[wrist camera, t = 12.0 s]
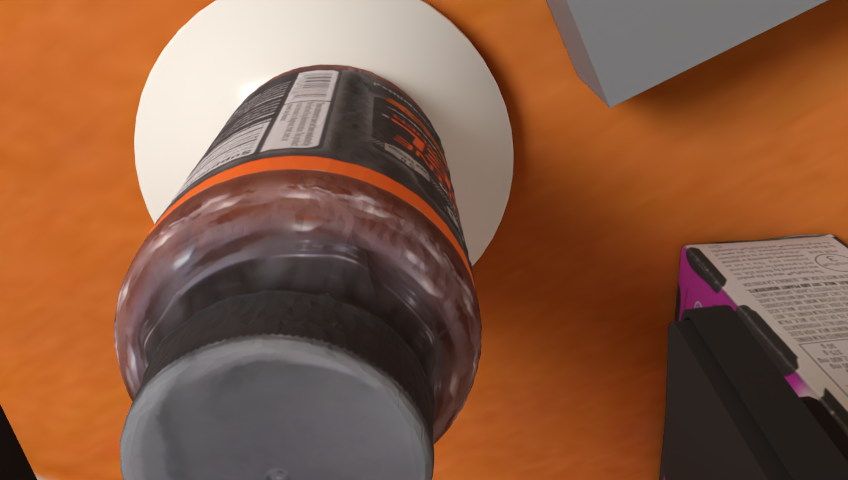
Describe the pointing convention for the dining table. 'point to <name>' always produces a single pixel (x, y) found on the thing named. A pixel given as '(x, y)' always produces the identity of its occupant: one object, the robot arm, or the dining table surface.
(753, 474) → the robot arm
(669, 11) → the socket block
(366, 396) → the supplement bottle
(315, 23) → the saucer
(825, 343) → the candy bar box
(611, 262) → the dining table surface
